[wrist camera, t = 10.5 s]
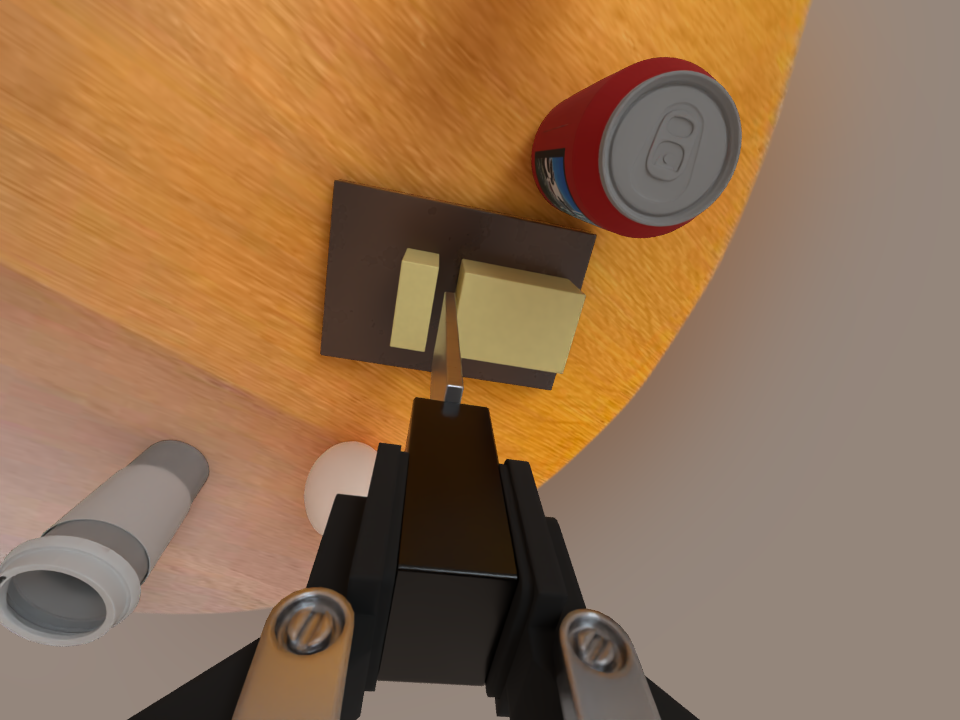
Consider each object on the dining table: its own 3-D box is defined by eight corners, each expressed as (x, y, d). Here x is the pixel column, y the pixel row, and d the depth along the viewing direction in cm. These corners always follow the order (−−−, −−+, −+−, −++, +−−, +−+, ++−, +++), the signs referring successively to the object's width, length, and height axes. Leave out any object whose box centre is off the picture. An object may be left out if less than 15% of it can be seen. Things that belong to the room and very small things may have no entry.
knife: (472, 295, 22) (529, 556, 8) (457, 369, 24) (480, 704, 9) (427, 287, 22) (398, 544, 7) (415, 363, 24) (370, 699, 9)
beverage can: (514, 197, 29) (557, 218, 18) (549, 77, 26) (625, 16, 15) (612, 227, 30) (710, 263, 19) (654, 114, 28) (795, 82, 17)
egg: (399, 478, 36) (389, 556, 29) (330, 489, 36) (303, 570, 29) (384, 418, 34) (368, 486, 27) (311, 430, 34) (275, 502, 27)
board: (590, 231, 30) (597, 234, 29) (547, 381, 34) (551, 390, 33) (339, 178, 28) (334, 179, 26) (325, 347, 32) (319, 355, 30)
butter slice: (439, 254, 28) (439, 267, 25) (426, 329, 30) (424, 352, 27) (407, 247, 28) (401, 260, 24) (396, 324, 30) (389, 346, 26)
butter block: (568, 278, 30) (586, 295, 26) (548, 350, 31) (563, 374, 28) (461, 258, 29) (464, 272, 25) (447, 333, 30) (448, 356, 27)
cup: (165, 409, 33) (25, 533, 22) (244, 464, 35) (152, 603, 24) (107, 467, 34) (-52, 612, 23) (186, 517, 36) (75, 671, 25)
